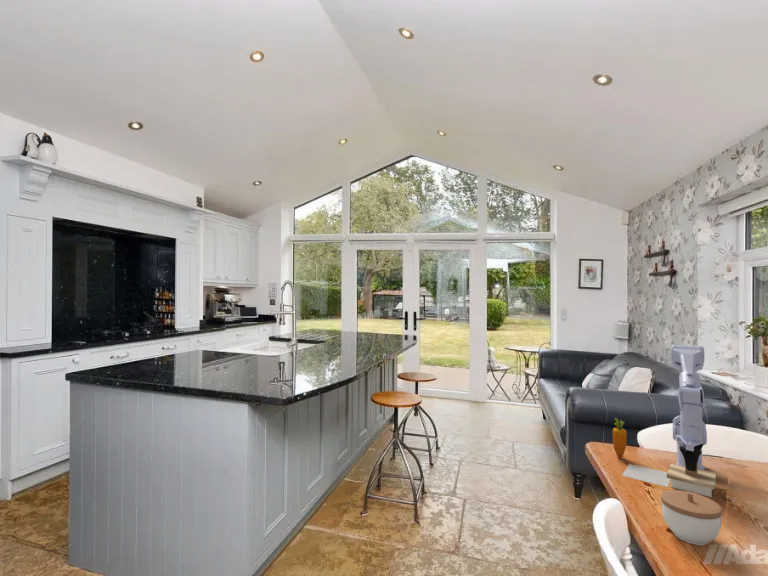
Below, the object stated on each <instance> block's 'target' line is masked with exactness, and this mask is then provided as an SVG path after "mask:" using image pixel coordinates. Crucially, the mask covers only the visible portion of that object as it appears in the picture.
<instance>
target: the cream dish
mask: <svg viewBox="0 0 768 576" xmlns="http://www.w3.org/2000/svg"><path fill="white" fill-rule="evenodd" d="M671 488H672V489H677V490H680V491H686V492H691V493H695V494H698V495H701V496H704V497H707V498H712V496H713V495H712V494H713V490H714V489H712V488H708V487H703V486H699V485H695V484H691V483H686V482H682V481H678V480H674V479H671Z"/></svg>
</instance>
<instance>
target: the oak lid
mask: <svg viewBox="0 0 768 576" xmlns="http://www.w3.org/2000/svg"><path fill="white" fill-rule="evenodd" d="M667 478H669V479H671V480H672V479H674V480H678V481H682V482H686V483H691V484H695V485H699V486H703V487H708V488H712V489H713V490H715V489H716V479H717V473H716V472H714V471H709V470H705V469H704V470H700V469H698V468H697V467H696V471H695V472H694V471H689V470H687V468H686V465H685V466H681V465H677V464H676V463H670V465H669V468H668V470H667Z"/></svg>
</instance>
